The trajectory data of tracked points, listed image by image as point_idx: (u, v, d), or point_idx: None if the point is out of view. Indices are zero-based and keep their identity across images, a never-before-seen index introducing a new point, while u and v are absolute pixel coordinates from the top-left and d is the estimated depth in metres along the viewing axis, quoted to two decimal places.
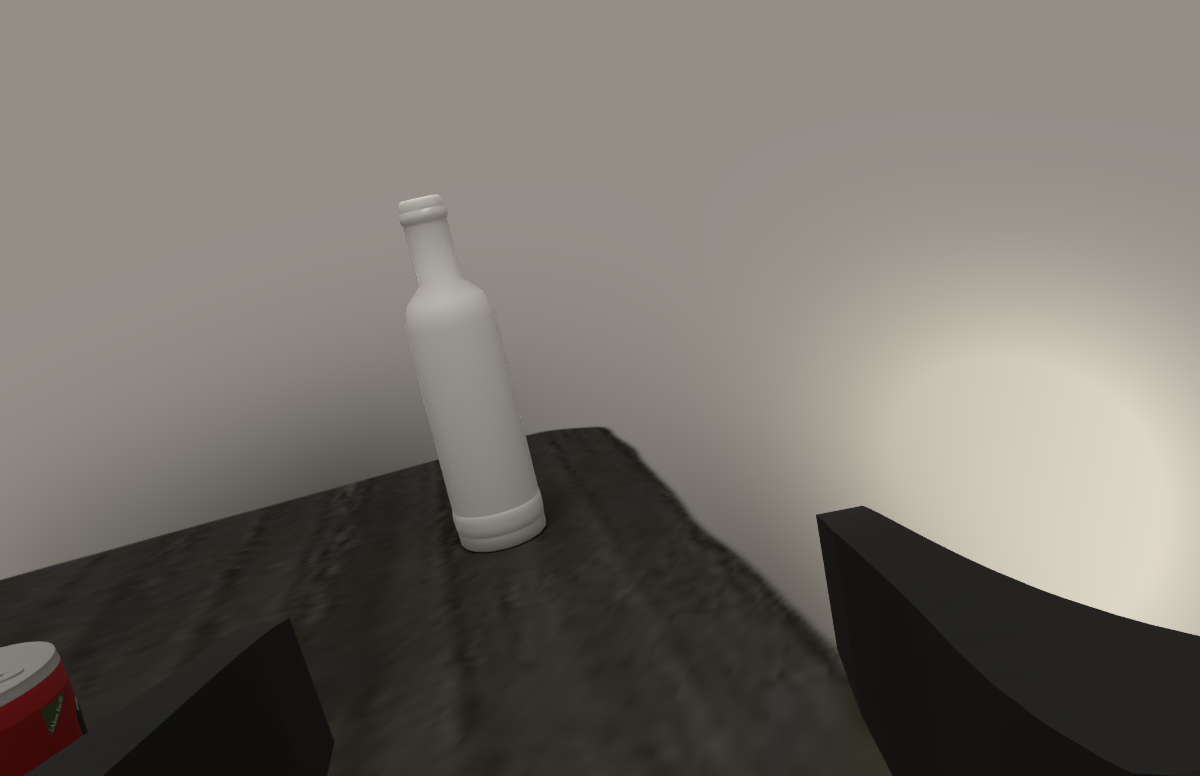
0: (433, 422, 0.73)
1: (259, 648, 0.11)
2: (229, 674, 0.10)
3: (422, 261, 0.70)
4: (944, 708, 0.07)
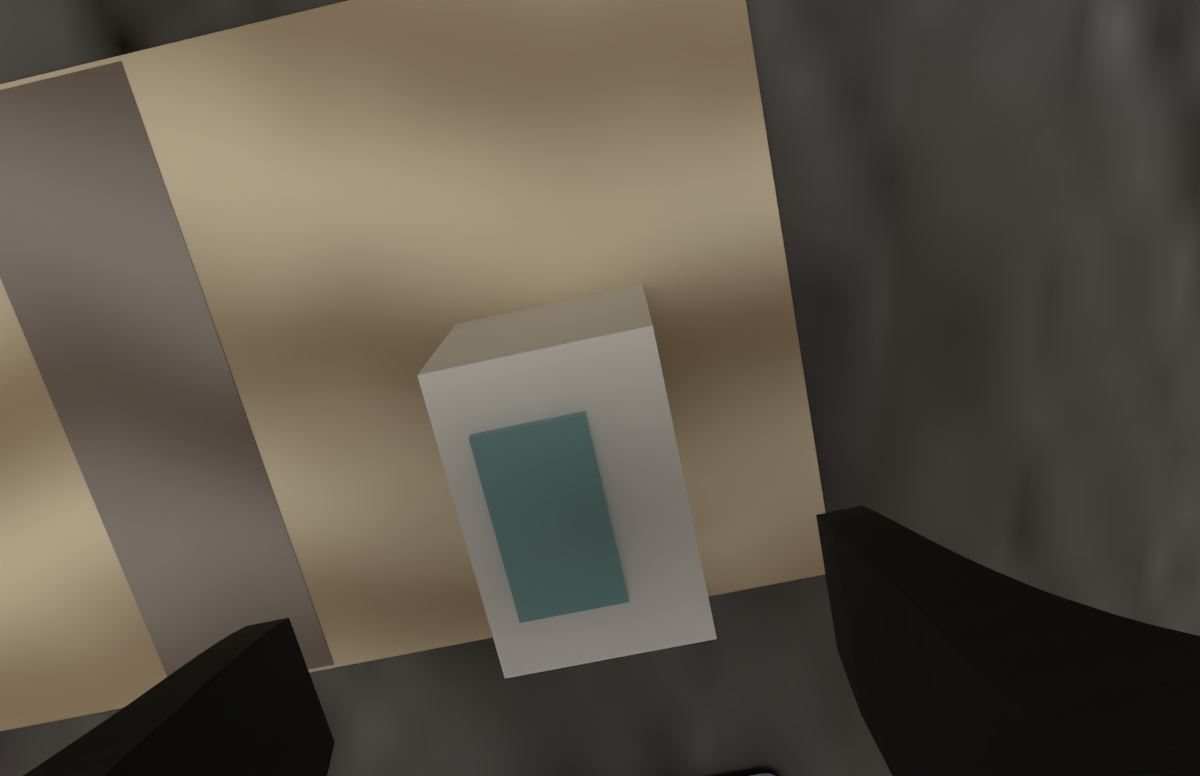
0: None
1: (259, 648, 0.11)
2: (229, 674, 0.10)
3: None
4: (944, 708, 0.07)
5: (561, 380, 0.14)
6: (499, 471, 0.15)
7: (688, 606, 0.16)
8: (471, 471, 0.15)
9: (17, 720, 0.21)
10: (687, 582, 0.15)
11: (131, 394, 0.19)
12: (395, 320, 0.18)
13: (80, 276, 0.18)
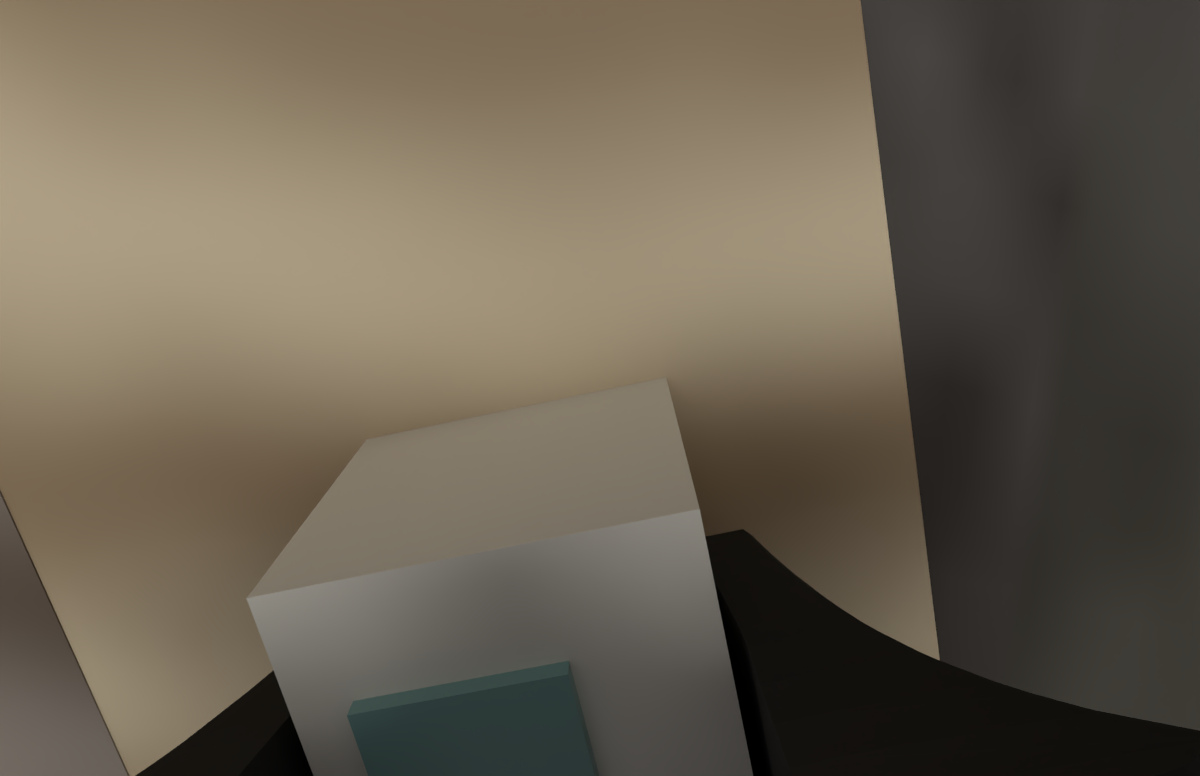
0: None
1: None
2: None
3: None
4: (767, 739, 0.07)
5: (524, 607, 0.08)
6: (407, 771, 0.08)
7: None
8: (357, 766, 0.08)
9: None
10: None
11: None
12: (270, 434, 0.11)
13: None
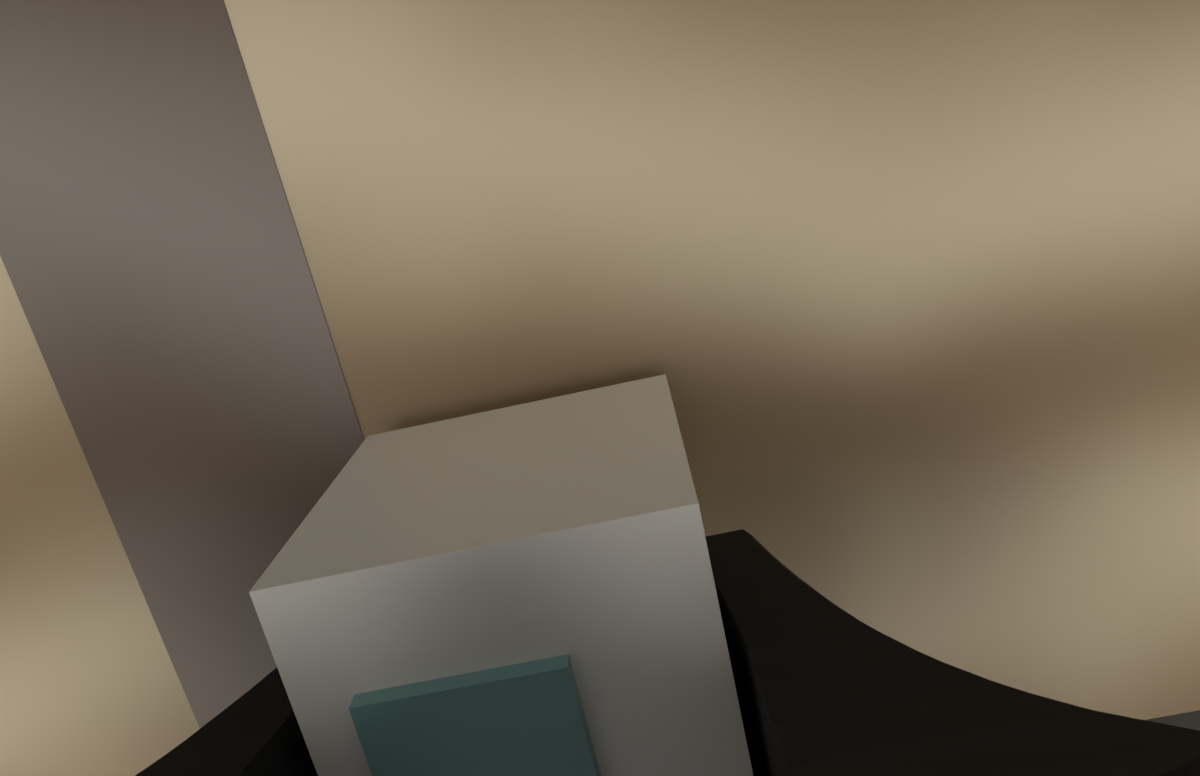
0: None
1: None
2: None
3: None
4: (767, 740, 0.07)
5: (523, 600, 0.08)
6: (408, 764, 0.08)
7: None
8: (358, 758, 0.08)
9: None
10: None
11: (208, 456, 0.12)
12: (612, 344, 0.12)
13: (134, 280, 0.12)
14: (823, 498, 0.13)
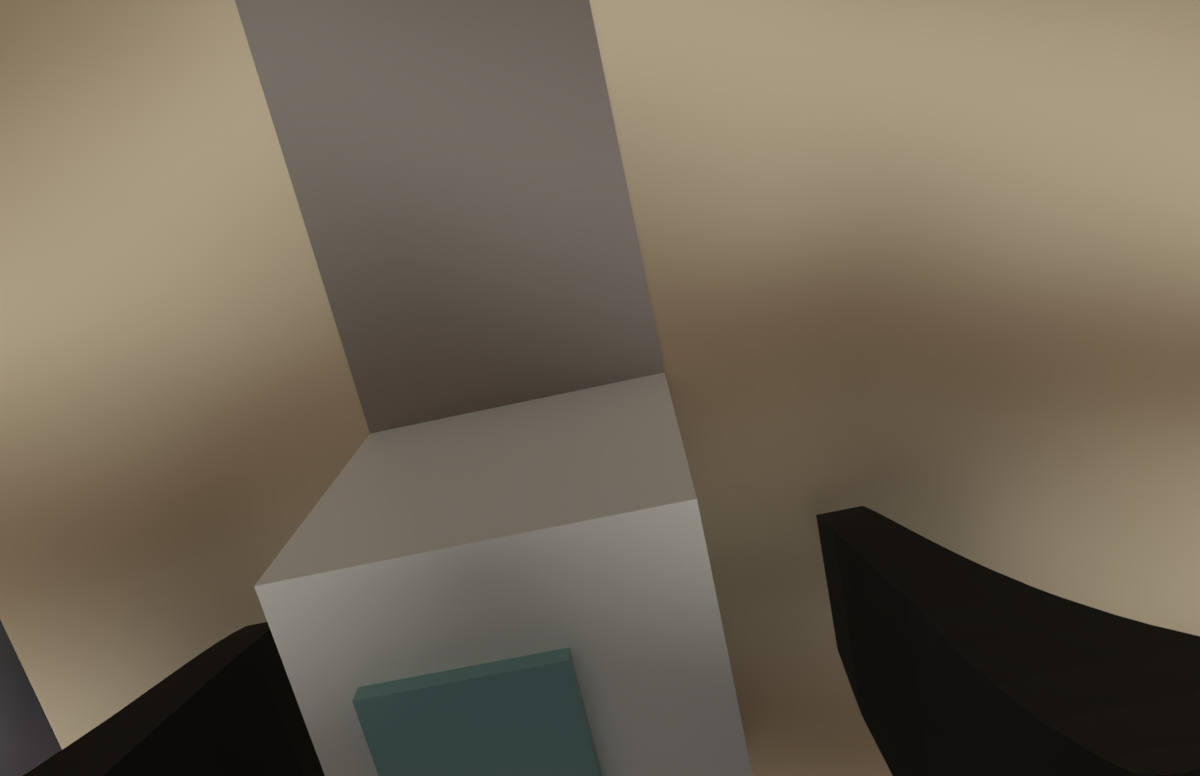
0: None
1: (259, 648, 0.11)
2: (229, 674, 0.10)
3: None
4: (944, 708, 0.07)
5: (525, 595, 0.08)
6: (411, 756, 0.08)
7: None
8: (361, 750, 0.08)
9: None
10: None
11: None
12: (952, 286, 0.11)
13: (437, 212, 0.11)
14: (1161, 459, 0.12)
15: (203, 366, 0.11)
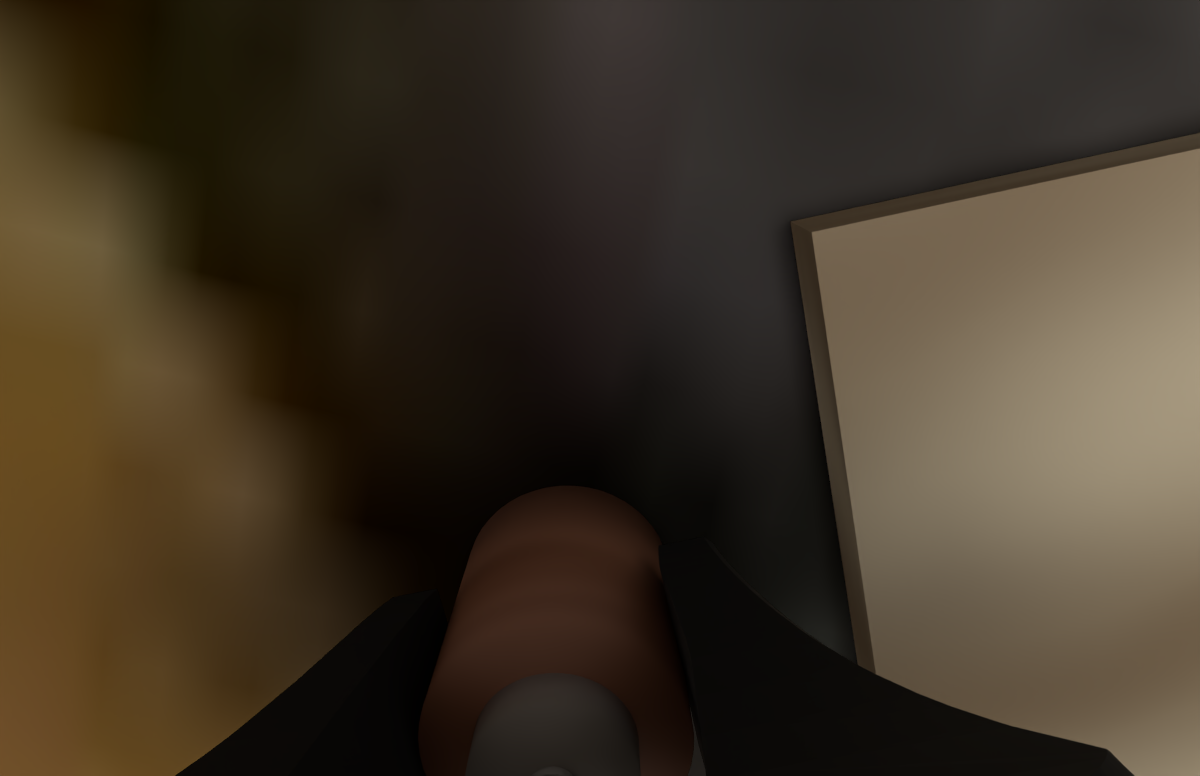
0: None
1: (419, 617, 0.10)
2: (400, 641, 0.10)
3: None
4: None
5: None
6: None
7: None
8: None
9: None
10: None
11: None
12: None
13: None
14: None
15: (1180, 551, 0.11)
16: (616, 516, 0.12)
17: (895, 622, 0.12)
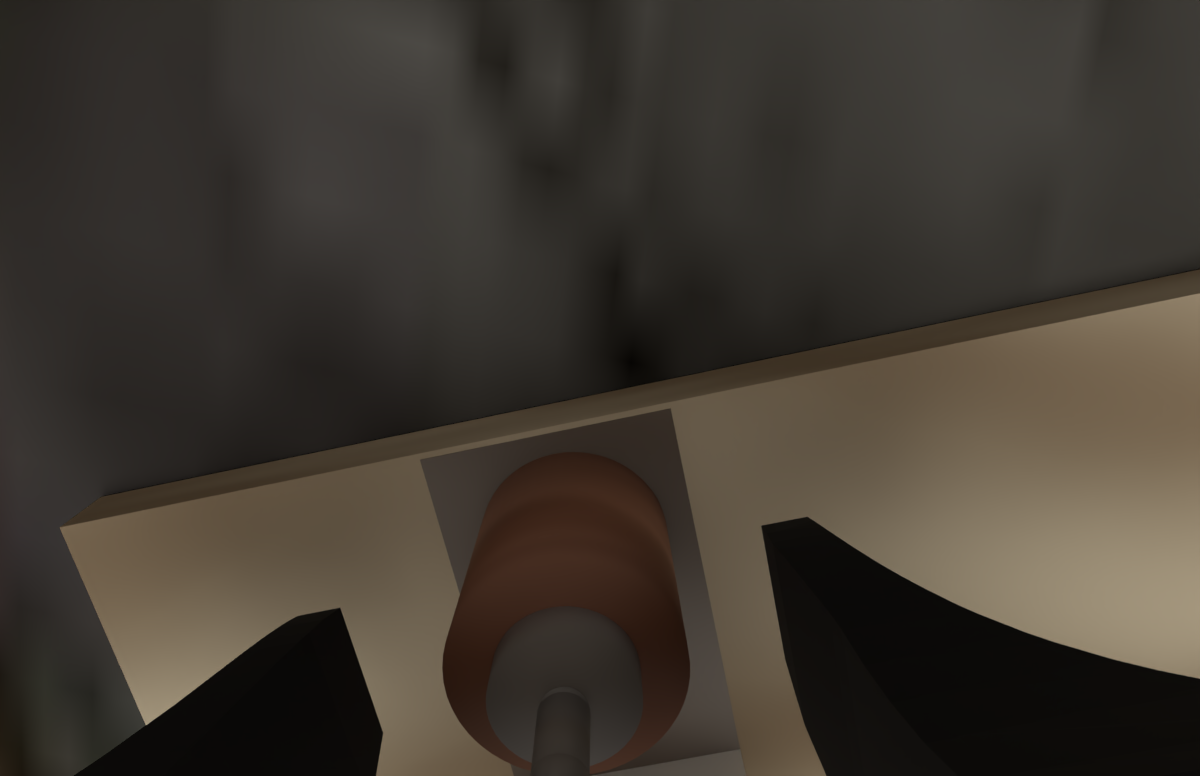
0: None
1: (315, 637, 0.10)
2: (288, 663, 0.10)
3: None
4: (862, 722, 0.07)
5: None
6: None
7: None
8: None
9: None
10: None
11: None
12: None
13: None
14: None
15: (395, 744, 0.15)
16: (618, 478, 0.13)
17: None
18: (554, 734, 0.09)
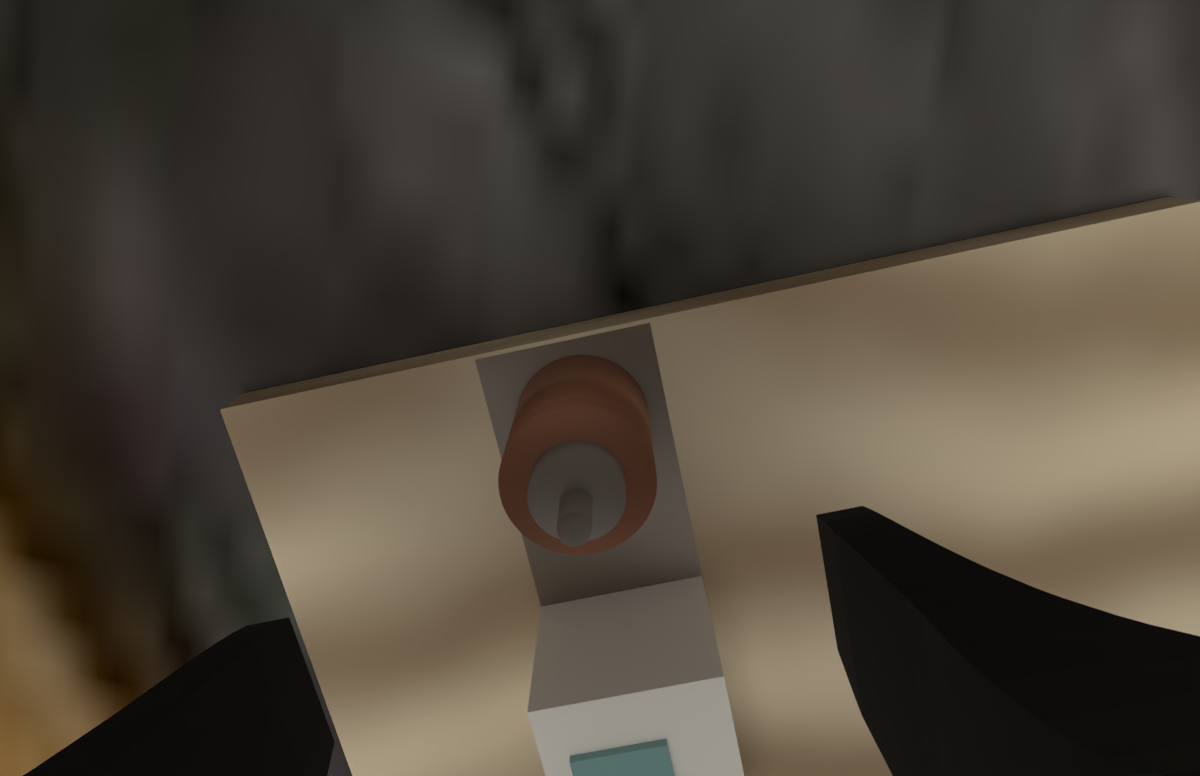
0: None
1: (259, 648, 0.11)
2: (229, 674, 0.10)
3: None
4: (944, 708, 0.07)
5: (647, 716, 0.17)
6: None
7: None
8: None
9: None
10: None
11: None
12: None
13: None
14: None
15: (453, 572, 0.21)
16: (610, 369, 0.19)
17: (307, 610, 0.21)
18: (570, 506, 0.15)
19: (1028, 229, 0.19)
